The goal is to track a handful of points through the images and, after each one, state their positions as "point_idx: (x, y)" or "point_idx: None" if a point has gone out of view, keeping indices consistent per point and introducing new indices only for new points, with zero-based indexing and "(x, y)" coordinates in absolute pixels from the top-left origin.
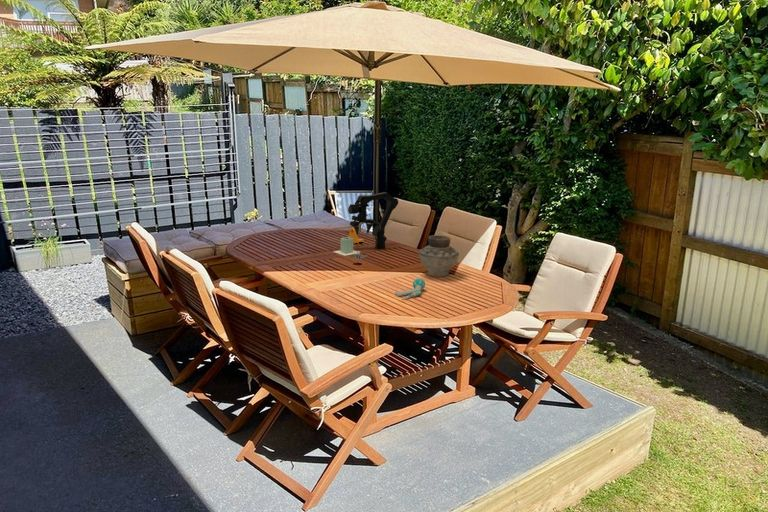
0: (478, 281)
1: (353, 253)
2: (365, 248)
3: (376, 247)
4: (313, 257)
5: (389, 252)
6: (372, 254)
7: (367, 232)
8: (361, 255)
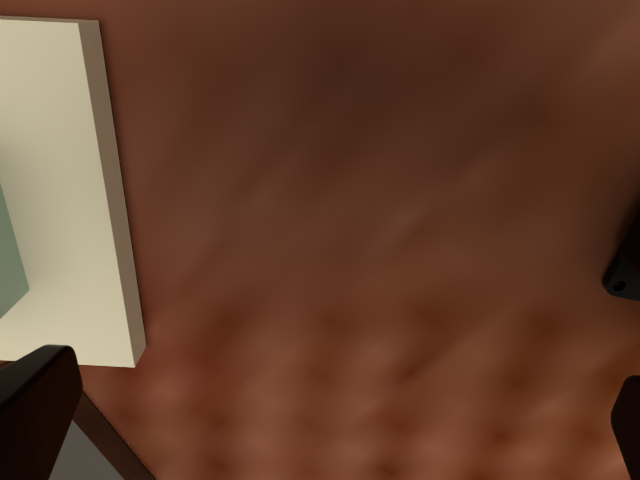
0: None
1: (4, 339)
2: (496, 74)
3: (627, 241)
4: None
5: (549, 467)
6: (297, 417)
7: (637, 439)
8: (66, 463)
